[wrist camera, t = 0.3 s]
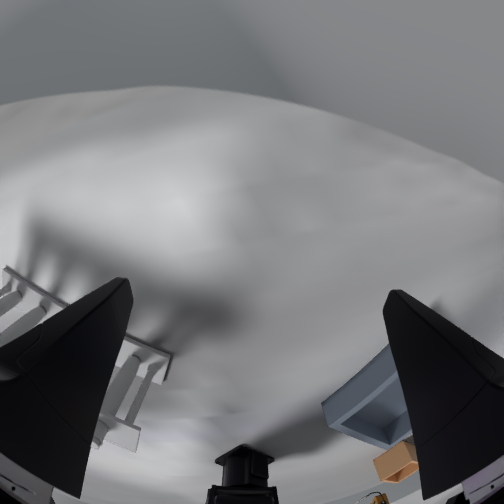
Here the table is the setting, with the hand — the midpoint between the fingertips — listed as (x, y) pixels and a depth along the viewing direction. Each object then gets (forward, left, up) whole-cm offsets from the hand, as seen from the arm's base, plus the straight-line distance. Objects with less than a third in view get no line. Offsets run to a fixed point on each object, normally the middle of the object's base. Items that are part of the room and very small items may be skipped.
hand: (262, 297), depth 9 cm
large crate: (-4, -27, -15) cm, 31 cm away
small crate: (-14, -45, -15) cm, 50 cm away
